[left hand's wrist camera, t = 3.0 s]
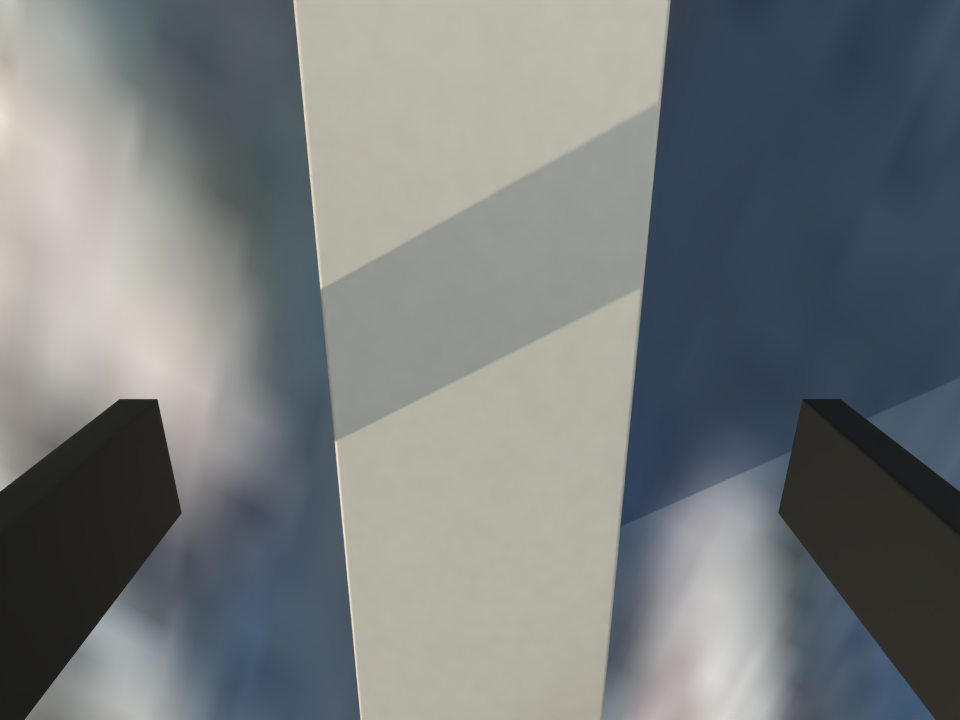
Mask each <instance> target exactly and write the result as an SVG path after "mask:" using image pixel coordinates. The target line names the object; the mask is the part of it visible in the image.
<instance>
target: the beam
mask: <svg viewBox="0 0 960 720" xmlns="http://www.w3.org/2000/svg"><path fill="white" fill-rule="evenodd" d="M670 2H671V0H294V10H295V21H296V32H297V42H298V53H299V64H300V74H301V85H302V96H303V107H304V117H305V128H306V139H307V149H308V160H309V171H310V182H311V192H312V203H313V214H314V224H315V235H316V246H317V256H318V267H319V278H320V289H321V299H322V310H323V321H324V331H325V342H326V353H327V364H328V374H329V385H330V396H331V406H332V417H333V428H334V439H335V449H336V460H337V471H338V481H339V492H340V503H341V513H342V524H343V535H344V546H345V556H346V567H347V578H348V588H349V599H350V610H351V621H352V631H353V642H354V653H355V663H356V674H357V685H358V696H359V706H360V717H361V720H602V713H603V703H604V692H605V682H606V671H607V661H608V650H609V640H610V629H611V619H612V609H613V598H614V588H615V577H616V567H617V556H618V546H619V535H620V525H621V514H622V504H623V493H624V483H625V473H626V462H627V452H628V441H629V431H630V420H631V410H632V399H633V389H634V378H635V368H636V357H637V347H638V336H639V326H640V316H641V305H642V295H643V284H644V274H645V263H646V253H647V242H648V232H649V221H650V211H651V200H652V190H653V179H654V169H655V159H656V148H657V138H658V127H659V117H660V106H661V96H662V85H663V75H664V64H665V54H666V43H667V33H668V23H669V12H670Z"/></svg>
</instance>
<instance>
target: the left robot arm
mask: <svg viewBox="0 0 960 720" xmlns="http://www.w3.org/2000/svg"><path fill="white" fill-rule="evenodd" d="M180 514H181V508H180V504H179V499H178V494H177V489H176V485H175V480H174V475H173V471H172V466H171V461H170V456H169V452H168V447H167V442H166V438H165V433H164V428H163V424H162V419H161V414H160V409H159V405H158V400H157V399H119V400H118V401H117V402H116V403H114V404H113V405H112V406H110V407H109V408H108V409H106V410H105V411H104V412H103V413H101V414H100V415H99V416H97V417H96V418H95V419H94V420H92V421H91V422H90V423H88V424H87V425H86V426H85V427H83V428H82V429H81V430H79V431H78V432H77V433H75V434H74V435H73V436H72V437H70V438H69V439H68V440H66V441H65V442H64V443H63V444H61V445H60V446H59V447H57V448H56V449H55V450H53V451H52V452H51V453H50V454H48V455H47V456H46V457H44V458H43V459H42V460H41V461H39V462H38V463H37V464H35V465H34V466H33V467H32V468H30V469H29V470H28V471H26V472H25V473H24V474H22V475H21V476H20V477H19V478H17V479H16V480H15V481H13V482H12V483H11V484H10V485H8V486H7V487H6V488H4V489H3V490H2V491H1V492H0V720H25V718H26V717H27V716H28V714H29V713H30V712H31V710H32V709H33V708H34V706H35V705H36V704H37V703H38V701H39V700H40V699H41V697H42V696H43V695H44V693H45V692H46V691H47V689H48V688H49V687H50V685H51V684H52V683H53V681H54V680H55V679H56V678H57V676H58V675H59V674H60V672H61V671H62V670H63V668H64V667H65V666H66V664H67V663H68V662H69V660H70V659H71V658H72V656H73V655H74V654H75V653H76V651H77V650H78V649H79V647H80V646H81V645H82V643H83V642H84V641H85V639H86V638H87V637H88V635H89V634H90V633H91V632H92V630H93V629H94V628H95V626H96V625H97V624H98V622H99V621H100V620H101V618H102V617H103V616H104V614H105V613H106V612H107V610H108V609H109V608H110V607H111V605H112V604H113V603H114V601H115V600H116V599H117V597H118V596H119V595H120V593H121V592H122V591H123V589H124V588H125V587H126V585H127V584H128V583H129V582H130V580H131V579H132V578H133V576H134V575H135V574H136V572H137V571H138V570H139V568H140V567H141V566H142V564H143V563H144V562H145V560H146V559H147V558H148V557H149V555H150V554H151V553H152V551H153V550H154V549H155V547H156V546H157V545H158V543H159V542H160V541H161V539H162V538H163V537H164V535H165V534H166V533H167V532H168V530H169V529H170V528H171V526H172V525H173V524H174V522H175V521H176V520H177V518H178V517H179V516H180ZM779 514H780V516H781V517H782V518H783V520H784V521H785V522H786V524H787V525H788V526H789V528H790V529H791V530H792V532H793V533H794V534H795V535H796V537H797V538H798V539H799V541H800V542H801V543H802V545H803V546H804V547H805V549H806V550H807V551H808V553H809V554H810V555H811V557H812V558H813V559H814V560H815V562H816V563H817V564H818V566H819V567H820V568H821V570H822V571H823V572H824V574H825V575H826V576H827V578H828V579H829V580H830V582H831V583H832V584H833V585H834V587H835V588H836V589H837V591H838V592H839V593H840V595H841V596H842V597H843V599H844V600H845V601H846V603H847V604H848V605H849V607H850V608H851V609H852V610H853V612H854V613H855V614H856V616H857V617H858V618H859V620H860V621H861V622H862V624H863V625H864V626H865V628H866V629H867V630H868V632H869V633H870V634H871V635H872V637H873V638H874V639H875V641H876V642H877V643H878V645H879V646H880V647H881V649H882V650H883V651H884V653H885V654H886V655H887V656H888V658H889V659H890V660H891V662H892V663H893V664H894V666H895V667H896V668H897V670H898V671H899V672H900V674H901V675H902V676H903V678H904V679H905V680H906V681H907V683H908V684H909V685H910V687H911V688H912V689H913V691H914V692H915V693H916V695H917V696H918V697H919V699H920V700H921V701H922V703H923V704H924V705H925V706H926V708H927V709H928V710H929V712H930V713H931V714H932V716H933V717H934V718H935V720H960V492H959V491H958V490H957V489H956V488H954V487H953V486H952V485H950V484H949V483H948V482H947V481H945V480H944V479H943V478H941V477H940V476H939V475H938V474H936V473H935V472H934V471H932V470H931V469H930V468H928V467H927V466H926V465H925V464H923V463H922V462H921V461H919V460H918V459H917V458H916V457H914V456H913V455H912V454H910V453H909V452H908V451H907V450H905V449H904V448H903V447H901V446H900V445H899V444H897V443H896V442H895V441H894V440H892V439H891V438H890V437H888V436H887V435H886V434H885V433H883V432H882V431H881V430H879V429H878V428H877V427H875V426H874V425H873V424H872V423H870V422H869V421H868V420H866V419H865V418H864V417H863V416H861V415H860V414H859V413H857V412H856V411H855V410H854V409H852V408H851V407H850V406H848V405H847V404H846V403H844V402H843V401H842V400H841V399H803V400H802V405H801V409H800V414H799V419H798V424H797V428H796V433H795V438H794V442H793V447H792V452H791V456H790V461H789V466H788V471H787V475H786V480H785V485H784V489H783V494H782V499H781V504H780V508H779Z"/></svg>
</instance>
